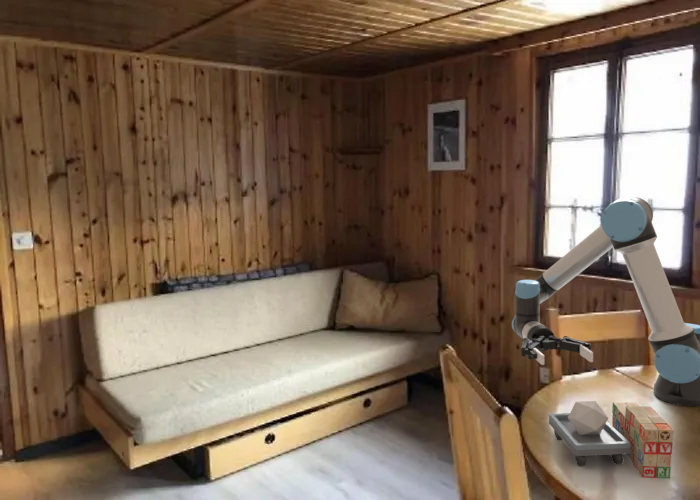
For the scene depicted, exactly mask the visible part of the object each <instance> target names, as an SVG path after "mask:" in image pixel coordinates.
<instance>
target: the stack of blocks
mask: <svg viewBox="0 0 700 500" xmlns="http://www.w3.org/2000/svg"><path fill="white" fill-rule="evenodd" d="M611 412H612V418H611V419H612V420H611V421H612V422H611V425H612V426H613V427H614V428H615V429H616V430H617V431H618V432H619V433H620V434H621V435H622V436H623V437H624V438H625V439H627V440H628V441H629V442H630V454H625V455H626V456H627V458H628V459H629V460H630V462H631V463H632V465H633V466H634V468H635V470H636V471H637V472H638V474H639V475H640V477H641V478H642V479H644V478H645V479H647V478H649V479H668V480H669V479H671V478H670V477H671V469H672V465H671V463H672V454H673V439H674V432H675V431H674V429H673V428H672V427H671V426H670V425H669V424H668V422H667V421H666V420H665V419H664V418H663V417H662V416H661V415H660V414H659V413H658V412H657V411H656V410H655V409H654V408H653V407H652V406H640V405H639V403H637V402H622V401H621V402H620V401H619V402H618V401H617V402H616V401H615V402H612V411H611Z"/></svg>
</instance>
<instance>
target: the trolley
mask: <svg viewBox="0 0 700 500" xmlns="http://www.w3.org/2000/svg"><path fill="white" fill-rule="evenodd" d="M569 414H570V412H568V413H567V412H566V413H563V412H562V413H549V414H548V424H549V425H550V427H551V428H552V430H553V432H554V436H555V439H556V440H557V441H561V440H562V441H563V442H564V444H565V445H566V446H567V447H568V448H569V449H570V451H571V452H572V453H573V454H574V460H575V463H576V465H577V464H578V465H577V466H578V467H585V466H586V465H587V456H588V457H589V456H604V455H605V456H606V455H607V456H608V455H610V457H611V460H612V462H613V464H614V465H622V464H623V463H624V455H626V454H630V442H629V441H628V440H627V439H625V438H624V437H623V436H622V435H621V434H620V433H619V432H618V431H617V430H616V429H615V428H614V427H613V426H612V424H610V423H609V422H608V421H607V422H606V424H605V426H604V428H603V430H602V432H601V434H600V435H581V436H580V435H579V434H578V432H577V431H576V429H575V428H574V426H573V425H572V423H571V422H570V421H569V419H568V416H569Z"/></svg>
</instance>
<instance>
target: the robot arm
mask: <svg viewBox="0 0 700 500" xmlns="http://www.w3.org/2000/svg"><path fill="white" fill-rule="evenodd" d="M653 218H654V212H653V208H652V206H651V205H650V203H649V202H647V201H646V200H645V199H643V198H641V197H638V196H626V197H623V198H619V199H616V200H615V201H612V202H611V203H609V204H608V205H607V206H606V207H605V209H604V210H603V212H602V214H601V220H600V222H601V223H600V224H601V225H600V226H598V227H597V228H596V229H594V231H592V232H591V233H590V234H589V235H588V236H586V237H585V238H584V239H583V240H581V241H580V242H579V243H577V245H576V246H574V247H573V248H572V249H570V250H569V251H568V252H567V253H566V254H565V255H563V256H562V257H560V258H559V260H558V261H556V262H555V263H554V264H552V265H551V266H550V267H549V268H548V269H546V271H544V272H543V273H542V274H540V275H539V276H537V278H536V279H522V280H518V281H516V282H515V291H514V294H515V315H514V316H513V319H512V321H511V328H512V330H513V332H514V333H515V334H516V335H517V336H518V337H520V338H521V339H522V344H521V347H520V351H521V352H520V354H521V355H520V356H521V357H526V356H527V359H528V360H533V359H534V360H535V361H537V362H538V363H539V364H540V365H541V366H544V365H545V354H543V353H542V352H546V351H548V350H557V351H562V350H564V351H569V352H573V353H577V354H579V356H580V357H583V358H584V359H586V360H587V361H588V362H589V363H593V362H594V352H593V351H592V350H591V346H592V345H591V344H592V343H589V342H585V341H582V340H578V339H575V338H571V337H569V336H567V335H563V337H562V338H561V337H557V336H555V334H554V332H553V331H552V330H551V329H549V327H547V326H546V325H544V324H542V323H541V322H540V311H541V310H540V304H542V303H543V302H545V301H546V300H547V301H548V300H549V299H550V298H551V297H552V296H553V295H554V294H555V293H557V291H560V289H562V288H563V287H564V286H566V284H568V283H569V282H571V281H572V280H573V279H575V277H577V276H578V275H580V274H581V273H582V272H584V271H585V270H586V269H588V267H590V266H591V265H592V264H594V262H596V261H598V260H599V259H600V258H601V257H603V256H604V255H605V254H606V253H608V252H609V251H610V250H611V249H613V250H615V251H616V252H617V253H620V254H621V255H622V257H623V259H624V263H625V265H626V268H627V270H628V273H629V276H630V278H631V280H632V283H633V287H634V288H635V291H636V294H637V296H638V299H639V301H640V304H641V307H642V309H643V312H644V315H645V318H646V319H647V322H648V324H649V325H648V326H649V328H650V330H651V332H650V334H649V336H648V340H649V344H650V346H651V349H652V352H653V354H654V355H653V364H654V367H655V370H656V372H657V373H658V376H657V378H656V380H655V383H654V385H653V394H654V396H655V397H657V398H658V399H660V400H662V401H665V402H666V403H671V404H673V405H679V406H683V407H684V406H685V407H700V325H699V324H694V323H688V322H684V319H683V317H682V315H681V312H680V309H679V306H678V304H677V300H676V298H675V296H674V293H673V291H672V287H671V286H670V283H669V280H668V278H667V275H666V273H665V270H664V268H663V265H662V263H661V262H662V261H661V259H660V258H659V254H658V252H657V249H656V246H655V242H656V240H657V238H658V236H657V233H656V230H655V227H654V224H653V220H654V219H653Z"/></svg>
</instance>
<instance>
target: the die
mask: <svg viewBox="0 0 700 500" xmlns="http://www.w3.org/2000/svg"><path fill="white" fill-rule="evenodd" d="M603 410H604V409H602V408H601V406H600V405H599V403H598V402H597V401H596V400H584V401H575V402H574V404H573V406H572V408H571V410H570V412H569V413H570V414H569V416H568V419H569V421H570V422H571V423H572V425H573V426H574V428H575V429H576V431H577V432H578V434H579V435H580V436H581V435H600V434H601V432H602V430H603V428H604V426H605V424H606V422H608V420H609V417H608V416H607V414H606V413H605V411H603Z"/></svg>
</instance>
